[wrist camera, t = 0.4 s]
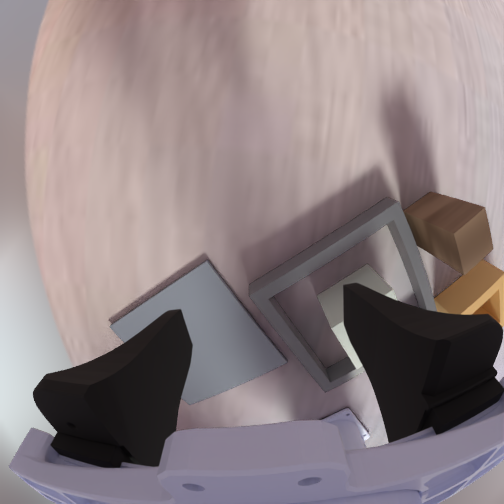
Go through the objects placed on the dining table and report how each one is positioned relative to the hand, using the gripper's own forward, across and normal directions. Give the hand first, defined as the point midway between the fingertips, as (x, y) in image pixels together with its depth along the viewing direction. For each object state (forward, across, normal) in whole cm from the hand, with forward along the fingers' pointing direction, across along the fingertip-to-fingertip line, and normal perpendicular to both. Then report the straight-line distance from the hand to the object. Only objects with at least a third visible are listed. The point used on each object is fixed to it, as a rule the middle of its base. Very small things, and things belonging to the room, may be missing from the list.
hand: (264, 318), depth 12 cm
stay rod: (+10, -14, 0) cm, 17 cm away
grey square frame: (+10, -7, +6) cm, 14 cm away
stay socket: (+10, -21, +10) cm, 25 cm away
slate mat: (+10, +7, +8) cm, 15 cm away
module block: (+10, -7, +6) cm, 14 cm away
